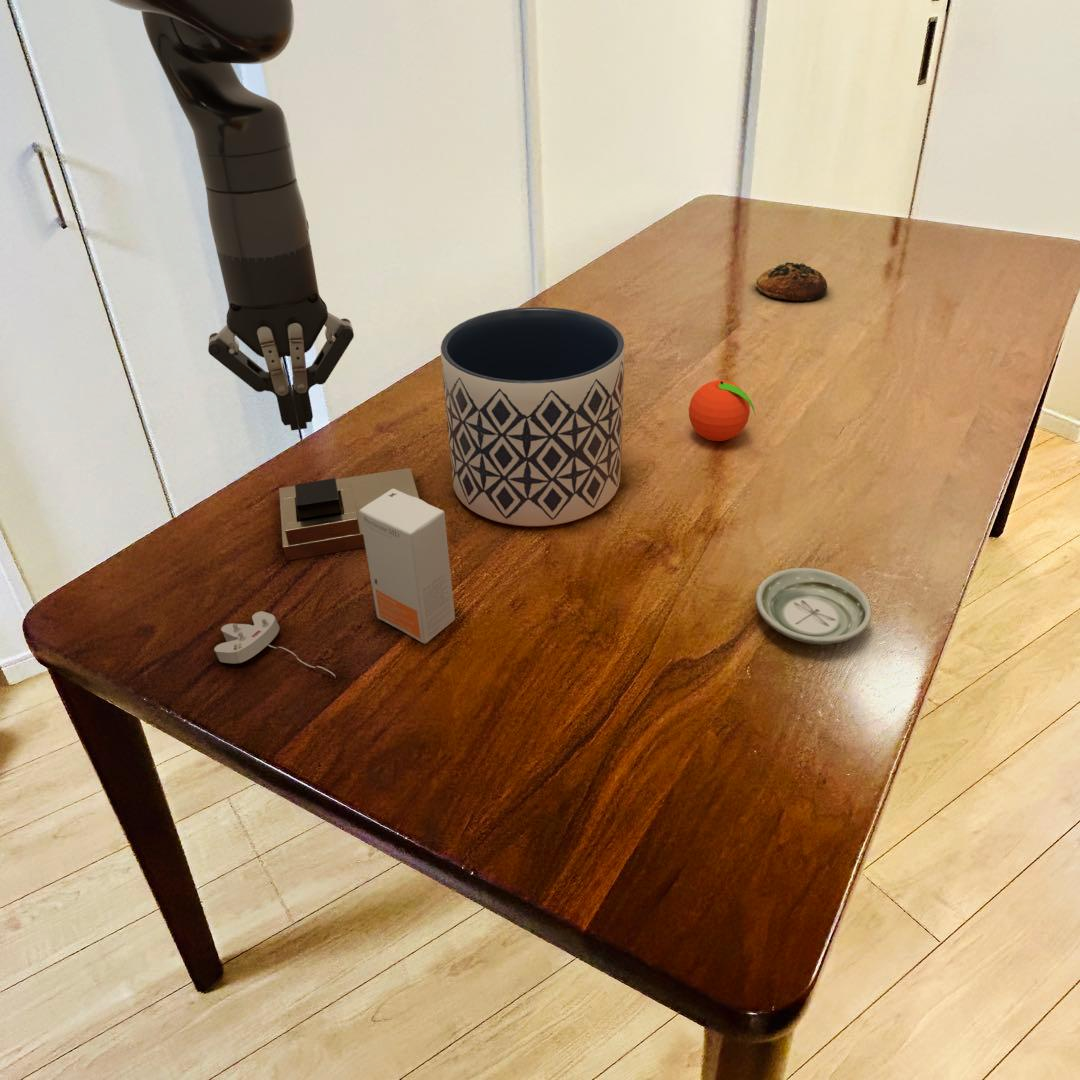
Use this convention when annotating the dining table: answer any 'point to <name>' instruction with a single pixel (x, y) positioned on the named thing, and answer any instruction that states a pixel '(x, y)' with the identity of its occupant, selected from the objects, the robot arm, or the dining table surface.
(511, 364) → the planter
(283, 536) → the keypad
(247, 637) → the game controller
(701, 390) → the clementine
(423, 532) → the cosmetic box
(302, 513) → the key
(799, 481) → the dining table surface
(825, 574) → the saucer
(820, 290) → the bread roll
